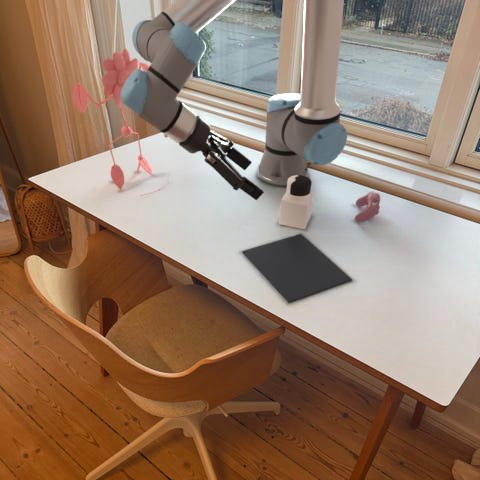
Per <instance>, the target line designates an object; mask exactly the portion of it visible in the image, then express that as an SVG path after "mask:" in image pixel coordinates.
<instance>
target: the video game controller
mask: <svg viewBox="0 0 480 480" xmlns="http://www.w3.org/2000/svg"><path fill="white" fill-rule="evenodd" d="M380 204H381V195H380V194H379V193H378V192H374V191H370V192H369V193H367V194H364V195H363V196H361V197H359V198H358V199H357V200H356V201H355V206H356V207H364V210H363V211H361V212H358V213H357V214H356V215H355V217H354V220H355V222H357V223H361V222H367V221H368V220H370V219H371V218H374V217H375V216H376V215H379V213H380V207H381V206H380Z"/></svg>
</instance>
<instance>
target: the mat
mask: <svg viewBox="0 0 480 480" xmlns="http://www.w3.org/2000/svg"><path fill="white" fill-rule="evenodd" d="M242 254H243V255H244V256H245V257H246V258H247V259H248V260H249V261H250V262H251V264H252V265H253V266H254V267H255V268H256V269H257V270H258V271H259V272H260V273H261V274H262V276H263V277H265V279H266V280H267V281H268V282H269V283H270V284H271V285H272V287H273V288H274V289H275V290H276V291H277V292H278V293H279V294H280V295H281V297H283V299H285V300H286V302H287V303H289V304H290V303H293V302H296V301H298V300H301V299H305V298H307V297H309V296H312V295H316V294H318V293H321V292H324V291H326V290H330V289H333V288H335V287H338V286H340V285H343V284H346V283H349V282H351V281H353V278H351V277H350V276H349V275H348V274H347V273H346V272H345V271H343V270H342V269H341V268H340V267H339V265H337V264H336V263H334V261H332V260H331V259H330V258H329V257H328V256H327V255H326V254H325V253H323V252H322V251H321V250H320V249H319V248H318V247H316V246H315V245H314V244H313V243H312V242H311V241H310V240H309V239H307V238H306V237H305V236H304V235H303V234H302V233H298V234H295V235H293V236H289V237H285V238H282V239H278V240H275V241H272V242H268V243H264V244H262V245H258V246H254V247H252V248H251V247H250V248H249V249H244V250H242Z"/></svg>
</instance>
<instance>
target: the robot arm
mask: <svg viewBox="0 0 480 480" xmlns="http://www.w3.org/2000/svg"><path fill="white" fill-rule="evenodd" d="M235 1H236V0H174V1H173V2H172V3H170V4H169V6H167V7H166V8H165V9H164V10H163V11H161V12H160V13H159V14H157V15H156V16H155V17H154V18H153V19H143V20H141V21H139V22H138V23H136V25H135V26H134V28H133V31H132V35H131V38H132V39H131V40H132V45H133V47H134V50H135V51H136V52H137V53H138V54H139V55H140V57H141V58H143V60H144V61H146V62H149V63H151V64H150V65H149V66H150V67H149V68H148V69H147V71H146V72H145V71H144V70H143V69H139V68H137V69H136V70H134V71H133V72H132V73H131V74H130V76H129V77H128V78H127V80H126V81H125V83H124V85H123V88H122V90H121V100H122V102H121V103H122V104H123V105H125V107H127V108H128V109H130V110H131V111H132V112H133V113H134V114H135V115H137V116H138V117H139V118H141V119H143V121H145V122H147V123H148V124H150V126H153V128H155V129H156V130H158V131H159V132H161V133H163V136H164V138H169V139H171V140H172V141H173V142H175V143H176V144H178V145H179V146H180V147H181V148H182V149H183V150H185V151H186V152H188V153H189V154H196V153H198V152H201V153H202V156H203V157H204V162H205V163H207V165H209V166H210V167H211V168H212V169H213V170H214V171H216V172H217V173H218V174H219V176H221V177H222V179H224V181H225V182H227V183H228V184H229V185H230V187H232V189H233V190H234V191H238V190H239V189H240V190H241V191H242V192H244V193H245V194H247V195H248V196H250V197H251V198H252V199H254V200H255V201H257V200H258V199H259V198H261V196H262V195H263V194H264V193H265V192H264V190H263V189H262V188H260V187H259V186H258V185H256V184H255V183H254V182H252V181H251V180H250V179H248V178H247V177H246V176H243V175H242V174H241V173H240V171H238V170H237V169H236V168H235V166H233V164H232V163H231V162H230V161H232V162H233V163H234V164H236V165H237V166H238V167H239V168H241V169H242V170H243V171H246V169H248V167H250V165H252V163H253V162H252V160H250V159H249V158H247V156H245V155H244V154H243V153H241V152H240V151H239V150H238V149H237V148H235V147H234V145H235V143H234V142H233V140H229V139H228V138H227V137H225V136H223V135H221V134H219V133H218V132H215V131H214V130H212V129H211V125H210V124H209V123H208V122H207V121H206V120H204V118H202V117H201V116H199V115H197V113H196V112H195V111H194V110H192V108H190V107H188V106H187V105H185V104H184V103H183V102H182V101H181V100H179V99H178V95H179V94H180V93H181V90H182V89H183V88H184V87H185V85H186V83H187V81H188V80H189V78H190V77H191V76H192V74H193V73H194V71H195V70H196V68H197V67H198V66H199V64H200V61H201V59H202V58H203V56H204V54H205V52H206V50H207V44H206V42H205V41H204V39H203V38H202V37H201V36H200V35H199V34H198V33H199V32H200V31H201V30H202V29H204V28H205V27H206V26H207V25H208V24H209V23H211V22H212V21H213V20H214V19H215V18H216V17H218V16H219V15H220V14H221V13H222V12H224V11H226V9H227V8H229V6H231V5H232V4H233V3H234V2H235ZM344 5H345V0H304V3H303V32H302V57H301V79H300V80H301V84H300V85H301V86H300V93H295V92H294V93H293V92H292V93H291V92H288V93H281V94H276V95H272V96H271V97H270V98H269V99H268V101H267V107H266V124H265V145H264V148H265V149H264V152H263V153H262V157H261V160H260V162H259V163H258V165H257V176H258V178H259V179H260V181H263V182H264V183H266V184H268V185H271V186H272V185H273V186H277V187H287V181H288V179H289V178H290V177H291V176H295V175H303V176H306V177H309V176H308V175H309V168H308V163H310V164H312V165H313V166H316V167H317V166H318V167H322V166H326V165H328V164H330V163H332V162H334V161H335V160H336V159H338V156H339V155H341V154H342V152H343V150H344V148H345V147H346V145H347V144H346V143H347V139H348V131H347V129H346V128H345V126H344V125H343V124H342V123H340V120H341V106H340V105H339V104H338V103H337V101H336V97H337V86H338V85H337V84H338V73H339V62H340V52H341V51H340V50H341V40H342V39H341V38H342V29H343V28H342V27H343V15H344ZM229 160H230V161H229Z"/></svg>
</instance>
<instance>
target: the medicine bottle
mask: <svg viewBox="0 0 480 480" xmlns="http://www.w3.org/2000/svg"><path fill="white" fill-rule="evenodd" d="M312 182H313V181H312V180H311V178H310V177H309V176H307V177H306V176H303V175H295V176H291V177H290V178H289V179H288V181H287V186H286V191H285V193H284V195H283V196H282V198H281V200H280V206H279V208H280V209H279V219H278V225H281V226H284V227H285V226H286V227H290V228H294V229H301V230H305V229H306V228H307V226H308V223H309V221H310V219H311V217H312V213H313V212H312V211H313V204H314V197H315V193H314V192H311V190H312V184H313V183H312Z"/></svg>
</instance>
